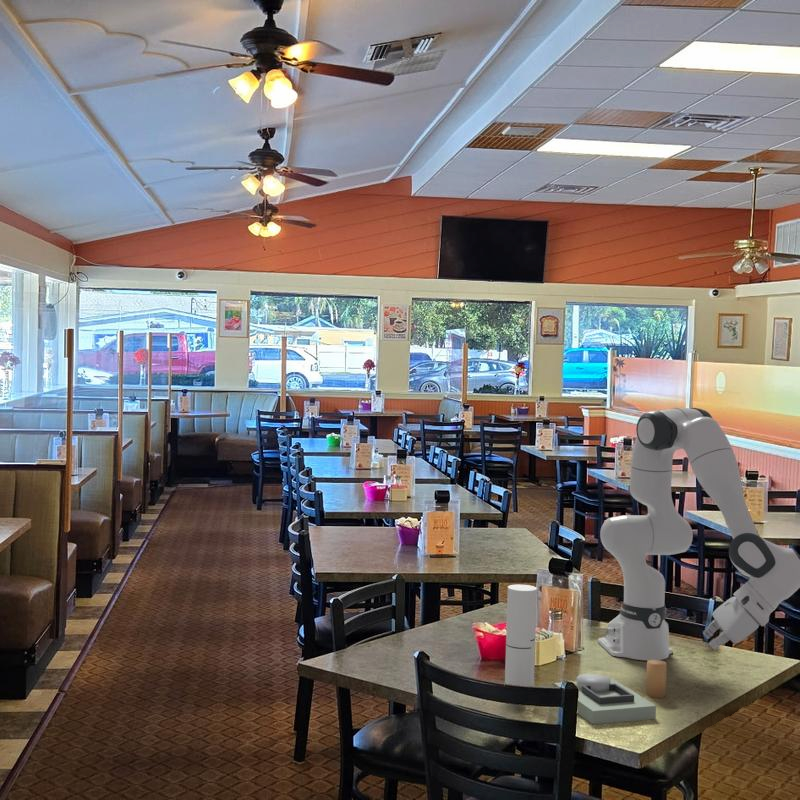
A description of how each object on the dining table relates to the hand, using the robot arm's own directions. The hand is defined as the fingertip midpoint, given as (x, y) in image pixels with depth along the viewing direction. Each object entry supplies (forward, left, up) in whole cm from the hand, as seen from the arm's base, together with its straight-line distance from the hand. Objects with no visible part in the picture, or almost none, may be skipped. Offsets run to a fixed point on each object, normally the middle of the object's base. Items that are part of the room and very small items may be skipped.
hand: (708, 641), depth 240 cm
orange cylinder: (-5, -11, -14) cm, 18 cm away
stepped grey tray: (0, -28, -14) cm, 31 cm away
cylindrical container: (-17, -42, -14) cm, 47 cm away
